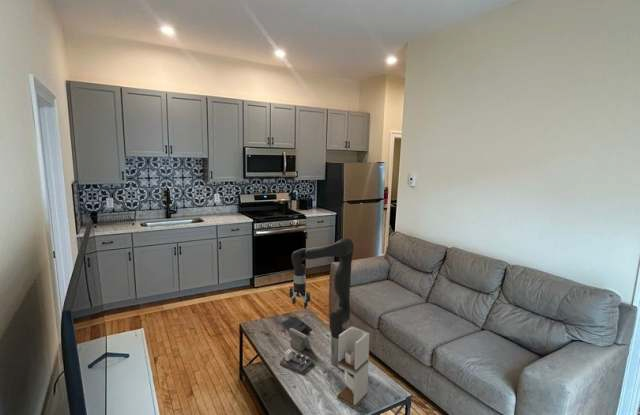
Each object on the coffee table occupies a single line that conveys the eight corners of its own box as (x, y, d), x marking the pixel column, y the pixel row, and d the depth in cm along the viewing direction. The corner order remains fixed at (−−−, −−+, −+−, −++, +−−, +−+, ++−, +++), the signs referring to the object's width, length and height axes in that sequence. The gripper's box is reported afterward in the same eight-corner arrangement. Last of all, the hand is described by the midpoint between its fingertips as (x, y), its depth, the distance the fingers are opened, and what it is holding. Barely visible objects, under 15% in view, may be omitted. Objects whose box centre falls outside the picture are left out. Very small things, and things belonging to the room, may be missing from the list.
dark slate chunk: (298, 318, 252) (298, 312, 251) (313, 331, 233) (313, 325, 233) (279, 323, 244) (279, 317, 243) (294, 338, 225) (294, 331, 224)
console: (314, 362, 199) (314, 357, 198) (302, 374, 189) (302, 368, 188) (292, 354, 207) (292, 348, 206) (280, 364, 197) (279, 359, 196)
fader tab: (292, 357, 199) (292, 350, 198) (288, 361, 196) (288, 353, 195) (289, 356, 200) (288, 348, 200) (284, 360, 197) (284, 352, 196)
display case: (350, 386, 179) (351, 326, 173) (367, 395, 173) (369, 333, 167) (337, 398, 171) (338, 335, 164) (354, 408, 164) (356, 343, 158)
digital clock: (312, 350, 211) (312, 334, 210) (300, 355, 206) (300, 339, 204) (298, 338, 224) (298, 323, 222) (286, 343, 219) (286, 327, 217)
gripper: (312, 281, 207) (312, 306, 209) (293, 276, 214) (294, 300, 217) (305, 285, 200) (305, 311, 203) (286, 280, 208) (287, 305, 210)
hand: (299, 305), depth 210 cm, fingers open, 8 cm apart
